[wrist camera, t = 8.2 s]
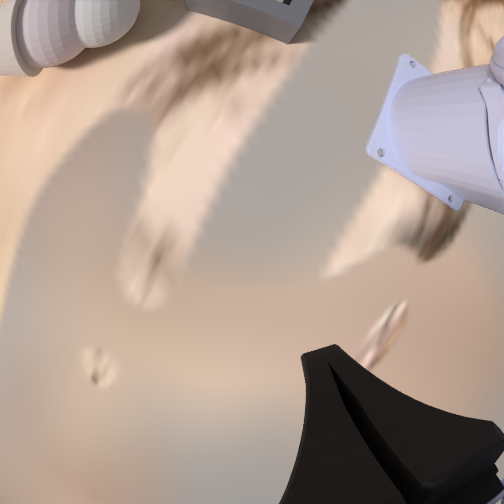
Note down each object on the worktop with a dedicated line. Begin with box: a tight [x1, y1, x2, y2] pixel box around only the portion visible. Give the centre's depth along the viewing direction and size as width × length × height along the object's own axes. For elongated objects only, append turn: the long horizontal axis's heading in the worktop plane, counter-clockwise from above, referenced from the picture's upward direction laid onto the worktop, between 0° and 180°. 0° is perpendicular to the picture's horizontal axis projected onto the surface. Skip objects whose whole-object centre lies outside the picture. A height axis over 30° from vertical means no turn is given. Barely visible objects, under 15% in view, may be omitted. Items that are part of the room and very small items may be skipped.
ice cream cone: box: [0, 0, 140, 77], centre depth 10 cm, size 6×6×15 cm
